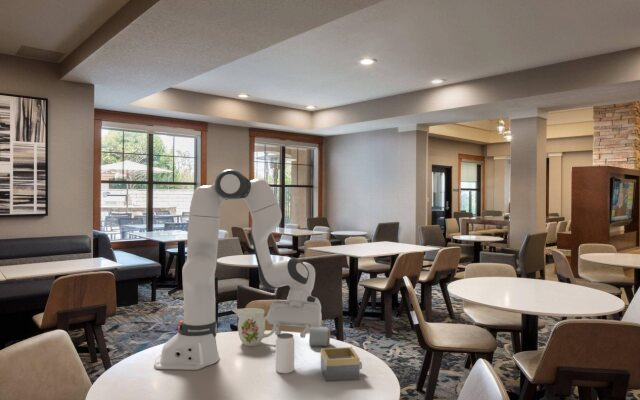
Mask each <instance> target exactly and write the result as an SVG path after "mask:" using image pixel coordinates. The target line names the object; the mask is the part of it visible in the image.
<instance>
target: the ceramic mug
mask: <svg viewBox="0 0 640 400" xmlns="http://www.w3.org/2000/svg"><path fill="white" fill-rule="evenodd" d="M330 338H331V329H330V328H329V327H323V326H320V327H319V328H311V327H310V330H309V340H308V345H309V346H310V347H328V346H329V345H330V340H331V339H330Z"/></svg>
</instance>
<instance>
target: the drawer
mask: <svg viewBox="0 0 640 400" xmlns="http://www.w3.org/2000/svg"><path fill="white" fill-rule="evenodd" d="M362 368H363V364H362V361H360V357H359V355H358V353H357V352H356V351H355V349H354V348H353V347H352V346H350V347H349V346H347V347H346V346H345V347H330V348H329V347H327V348H325V347H324V348H321V349H320V371H321V372H322V375H323V376H324V379H325V381H326V382H328V383H329V382H343V381H355V380H356V381H359V380H360V370H362Z"/></svg>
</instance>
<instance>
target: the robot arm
mask: <svg viewBox="0 0 640 400" xmlns="http://www.w3.org/2000/svg"><path fill="white" fill-rule="evenodd" d="M236 199H242V201H244V202H245V204H246V207H247V209H248V211H249V213H250V216H251V220H252V223H251V224H252V227H251V228H250V238H251V243H252V246H253V251H254V254H255V259H256V263H257V267H258V276H259V277H258V278H259V281H260V283H261V285H263V287H264V288H265V289H267V290H270V291H272V290H276V289H280V288H281V287H286V286H289V291H288V295H287V297H286V300H275V301H273V302H271V303H270V307H269V309H268V312H267V315H266V317H267V320H266V321H267V322H268V324H269V325H275V328H276V329H275V332H274V335H275V336H277V335H278V334H282V333H281V332H282V330H281V329H279V328H280V326H288V327H300V328H304V329H303V330H302V331H301V330H300V334H299V336H300V338H303V339H305V338H306V335H307V334H308V332H310V328H319V327H322V320H323V319H322V317H323V316H322V315H323V314H322V304H321V302H320V299H319V298H318V297H315V296H312V291H313V290H314V286H315V282H316V281H315V280H316V269H315V267H314V266H313V264H311V263H309V262H307V261H302V260H300V259H298V258H296V257H289V258H286V259H282V260H278V261H273V260H272V257H271V253H270V249H269V245H268V239H269V236H270V235H271V233H272V232H274V231H275V230H276V229H277V228H278V226H279V225H280V223H281V222H282V221H281V220H282V218H283V216H282V215H283V214H282V210H281V206H280V205H279V202H278V199H277V197H276V195H275V194H274V191H273V190H272V188H271V186H270V184H269V183H268V181H266V180H265V179H263V178H254V179H251V180H250V179H249V178H247V177H246V176H245V175H244V174H243V173H241V172H240V171H238V170H236V169H233V168H231V169H230V168H229V169H228V168H227V169H225V170H223V171H220V173H218V175H217V176H216V178H215V180H214V183H212V184H211V185H207V184H206V185H201V186H197V187H196V188H195V190H194V191H193V193H192V197H191V201H190V207H189V211H188V212H189V213H188V221H187V222H188V223H187V235H186V238H187V245H186V246H187V247H186V249H187V250H186V252H187V253H186V259H185V260H186V261H185V262H184V264H183V266H182V270H181V272H182V273H181V274H182V276H181V277H182V291H183V320H179V322H177V323H178V324H177V325H178V326H177V333H176V334H175V335H173V336H172V337H171V338H170V339H168V340H167V341H166V342H165V343H164V345H163V346H162V350H161V352H160V353H161V354H159V355H158V356H157V357H156V359H154V368H155V369H156V370H180V371H181V370H185V371H187V370H188V371H189V370H190V371H191V370H192V371H193V370H195V371H196V370H201V369H204V368H205V367H208V366H211V365H214V364H215V363H217V362H218V361H219V360H220V359H221V358H220V355H219V351H218V345H217V338H216V337H217V331H218V326H217V320H216V289H215V288H216V286H215V285H216V284H215V283H216V282H215V281H216V280H215V279H216V278H215V276H216V275H215V274H216V269H217V262H218V250H219V249H218V247H219V236H220V235H219V233H220V224H221V223H220V222H221V210H222V206H223V203H224V202H225V201H227V200H230V201H231V200H236Z"/></svg>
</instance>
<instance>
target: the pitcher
mask: <svg viewBox="0 0 640 400" xmlns="http://www.w3.org/2000/svg"><path fill="white" fill-rule="evenodd" d="M231 311H232V312H234V313H235V314H236V316H237V318H238V322H237V331H238V336H239V337H238V338H240V339H239V340H240V341H241V343H242V344H243V345H244V346H247V347H253V346H258V345H260V343H261V341H262V340H263V339H265V338H269V337H271V336H272V335H273V334H275V331H276V328H275V325H273V324H272V325H273V326H272V330H270V331H269V332H267V333H265V332H266V321H267V316H264V315H265V310H264V309H262V308H258V307H244V308H234V309H231Z"/></svg>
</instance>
